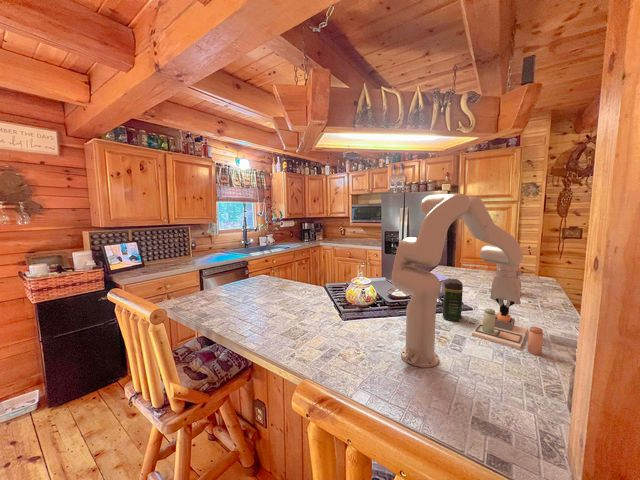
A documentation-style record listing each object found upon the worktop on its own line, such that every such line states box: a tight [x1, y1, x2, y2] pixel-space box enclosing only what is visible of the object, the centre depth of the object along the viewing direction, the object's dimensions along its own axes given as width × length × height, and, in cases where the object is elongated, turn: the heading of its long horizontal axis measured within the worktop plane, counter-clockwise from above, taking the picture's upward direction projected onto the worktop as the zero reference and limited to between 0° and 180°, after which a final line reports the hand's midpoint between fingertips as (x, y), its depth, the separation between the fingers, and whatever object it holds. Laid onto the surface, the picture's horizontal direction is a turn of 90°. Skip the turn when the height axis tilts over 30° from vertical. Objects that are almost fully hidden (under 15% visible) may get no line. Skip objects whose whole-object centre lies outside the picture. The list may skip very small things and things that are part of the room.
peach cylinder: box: [527, 326, 544, 356], centre depth 95 cm, size 4×4×9 cm
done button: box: [496, 312, 512, 323], centre depth 113 cm, size 5×5×4 cm
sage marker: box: [482, 308, 497, 333], centre depth 108 cm, size 4×4×9 cm
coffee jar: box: [442, 277, 464, 322], centre depth 125 cm, size 10×8×19 cm
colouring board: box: [471, 313, 529, 350], centre depth 110 cm, size 20×16×4 cm
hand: (504, 314), depth 113 cm, fingers closed
